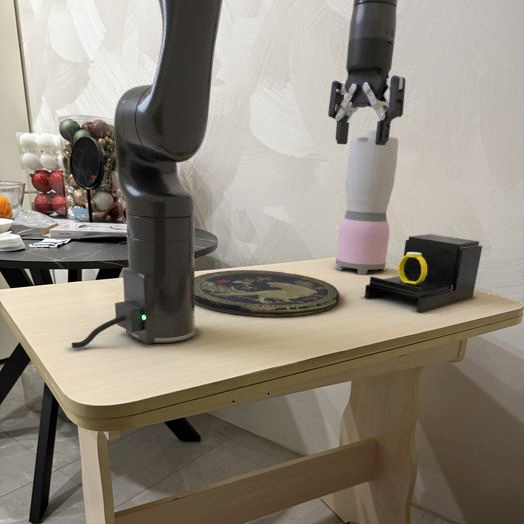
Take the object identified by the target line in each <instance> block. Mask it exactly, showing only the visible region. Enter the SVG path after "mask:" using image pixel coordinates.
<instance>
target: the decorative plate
mask: <svg viewBox="0 0 524 524" xmlns="http://www.w3.org/2000/svg"><path fill="white" fill-rule="evenodd" d="M194 281H195V305H198V306H201V307H203V308H206V309H210V310H214V311H218V312H222V313H228V314H234V315H242V316H253V317H270V318H272V317H295V316H306V315H307V316H308V315H311V314H319V313H322V312H325V311H328V310H330V309H332V308H334V307H335V306H336V305H338V303H339V299H340V293H339V291H338V289H337V287H335V286H334V285H333V284H332V283H329V282H327V281H324V280H323V279H319V278H316V277H312V276H309V275H302V274H298V273H292V272H286V271H285V272H284V271H277V270H276V271H275V270H257V269H236V270H221V271H213V272H208V273H204V274H199V275H197V276H194Z"/></svg>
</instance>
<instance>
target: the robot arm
mask: <svg viewBox="0 0 524 524" xmlns="http://www.w3.org/2000/svg"><path fill="white" fill-rule="evenodd" d="M158 5H159V9H160V14H161V21H162V22H161V23H162V29H161V30H162V32H161V33H162V35H161V45H160V50H159V56H158V60H157V65H156V66H157V67H156V69H155V70H156V71H155V74H154V78H153V82H152V84H143V85H138V86H137V85H136V86H134V87H132V88H129V89H127V90H126V91H125V92H124V93H122V95H121V97H119V100H118V102H117V103H116V107H115V112H114V118H113V134H114V135H113V136H114V149H115V158H116V169H117V170H116V171H117V179H118V186H119V190H120V193H121V195H122V197H123V200H124V204H125V213H126V214H125V217H126V218H125V219H126V243H127V262H128V268H124V269H123V270H122V281H123V301H119V302H115V303H114V310H115V318H113V319H110V320H108V321H106V322H104V323H102V324H101V325H99V326H97V327H96V328H94V329H93V330H92V331H91V332H90V333H89V334H88V336H87V337H85V338H84V339H83V340H81V341H76V342H71V348H72V349H80V348H83V347H85V346H88V345H89V344H90V343H91V342H92V341H93V340H94V339H95V338H96V337H97V336H98V335H99V334H101V332H103V331H105V330H107V329H109V328H110V327H113V326H115V325H117V326H119V327H120V328H123V329H125V334H127V335H129V336H131V337H132V338H134V339H137V340H139V341H140V342H142V343H144V344H146V345H149V344H153V343H154V344H155V343H163V344H164V343H175V342H180V341H186V340H188V339H191V338H192V337H194V336H195V335H196V325H195V323H196V321H195V320H196V319H195V318H196V317H195V316H196V315H195V314H196V313H195V311H196V308H195V305H196V303H195V281H194V277H195V197H194V196H193V194H192V193H191V191H190V190H188V189H187V188H186V186H185V185H184V184H183V183H182V181H181V179H180V177H179V173H178V164H177V163H183V162H187V161H189V160H190V159H192V158H193V157H194V156H195V155H197V153H198V152H199V150H200V149H201V147H202V145H203V143H204V141H205V137H206V133H207V127H208V121H209V112H210V101H211V91H212V90H211V89H212V78H213V66H214V58H215V49H216V44H217V38H218V31H219V27H220V26H219V25H220V20H221V13H222V6H223V0H158ZM397 7H398V0H353V4H352V13H351V17H350V23H349V30H348V41H347V42H348V43H347V54H346V64H345V65H346V66H345V68H346V73H347V78H346V80H345V81H340V80H333V81H332V82H331V89H330V95H329V104H328V111H327V116H328V117H329V118H332V119H334V120H335V122H336V127H335V141H336V144H338V145H347V144H348V140H349V130H350V129H349V128H350V122H349V121H350V119H351V117H352V116H353V114H355V112H357V111H358V109H360V108H367V107H368V108H372V109H373V110H374V111H375V113H376V115H377V117H378V119H379V120H377V124H376V130H377V132H376V140H375V144H376V145H386V142H387V141H388V139H389V137H390V132H391V123H392V121H393V120H394V119H397V118H401V117H402V116H403V114H404V106H405V105H404V104H405V92H406V78H405V77H403V76H400V75H396V74H395V75H392V76H391V77H390V76H389V74H390V71H392V66H393V58H394V57H393V56H394V48H395V37H396V31H397ZM387 91H389V97H388V98H387V96H386V93H387ZM388 99H389V100H388Z"/></svg>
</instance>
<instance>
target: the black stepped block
mask: <svg viewBox="0 0 524 524" xmlns="http://www.w3.org/2000/svg"><path fill="white" fill-rule="evenodd" d="M404 244H405V245H404V249H403V257H404V256H406V255H407V252H417V253H421V254H422V255H421V256H422V257H423V258H424V260H425V261H426V264H427V275H426V277H425V279H424V281H422V282H421V283H420V284H416V285H414V284H410V283H403V281H402V280H401V279H400V277H399V275H398V276H393V277H388V278H381V277H377V276H369V277H370V278H369V284H366V285H365V291H364V298H365V299H371V298H376V297H380V296H381V297H382V296H384V295H389V294H393V293H397V294H402V295H406V296H409V297H412V298H418V299H417V306H416V313H420V314H421V313H424V312H428V311H430V310H431V311H432V310H435V309H438V308H441V307H444V306H448V305H451V304H455V303H458V302H462V301H466V300H469V299H473V297H474V294H475V293H474V292H475V287H476V283H477V282H476V281H477V276H478V271H479V267H480V261H481V256H482V250H483V245H480V241H479V240H472V239H466V238H459V237H453V236H445V235H440V234H432V233H427V234H419V235H411V236H408V239H406V240H405V243H404ZM421 269H422V267H421V264H420V262H419V260H418V259H417V258H413V257H409V258H408V259H407V260H406V262H405V264H404V274H405V277H406V278H407V279H408V281H414V282H416V281H417V280H419V278H420V276H421Z"/></svg>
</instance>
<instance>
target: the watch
mask: <svg viewBox="0 0 524 524" xmlns="http://www.w3.org/2000/svg"><path fill="white" fill-rule="evenodd" d="M421 255H422V254H421V253H417V252H407V255H406V256H404V255H403V256H402V258H401V259H400V261H399V262H398V268H397V272H398V276H399V277H400V279H401V280H402V281H403V283H410V284H414V285H416V284H420V283H421V282H422V281H424V279H425V277H426V275H427V264H426V261H425V260H424V258H423V257H422V256H421ZM409 257H413V258H417V259H418V260H419V262H420V264H421V267H422V269H421V276H420V278H419V280H417V281H416V282H414V281H408V279H407V278H406V277H405V274H404V264H405V262H406V260H407V259H408V258H409Z"/></svg>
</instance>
